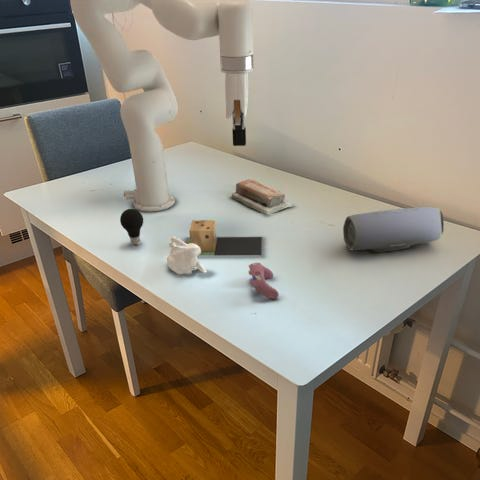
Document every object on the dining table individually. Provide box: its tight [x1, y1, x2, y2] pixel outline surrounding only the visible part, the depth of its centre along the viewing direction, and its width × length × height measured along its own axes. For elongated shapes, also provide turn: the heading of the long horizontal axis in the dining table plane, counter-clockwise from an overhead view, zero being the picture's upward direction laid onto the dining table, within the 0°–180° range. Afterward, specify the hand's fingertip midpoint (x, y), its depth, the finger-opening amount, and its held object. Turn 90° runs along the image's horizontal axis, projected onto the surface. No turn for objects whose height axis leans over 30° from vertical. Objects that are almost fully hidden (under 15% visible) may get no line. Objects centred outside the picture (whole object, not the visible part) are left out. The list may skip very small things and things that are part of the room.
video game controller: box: [248, 261, 280, 300], centre depth 112 cm, size 10×5×7 cm, turn 5°
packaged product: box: [231, 178, 293, 215], centre depth 152 cm, size 18×5×10 cm
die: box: [188, 219, 218, 252], centre depth 128 cm, size 6×6×6 cm
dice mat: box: [185, 236, 263, 257], centre depth 130 cm, size 20×10×1 cm, turn 87°
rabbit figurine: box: [166, 236, 208, 275], centre depth 118 cm, size 12×8×10 cm, turn 49°
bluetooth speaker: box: [342, 206, 445, 253], centre depth 125 cm, size 23×9×10 cm, turn 100°
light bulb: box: [119, 208, 144, 246], centre depth 130 cm, size 6×6×10 cm
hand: (239, 144), depth 125 cm, fingers closed
